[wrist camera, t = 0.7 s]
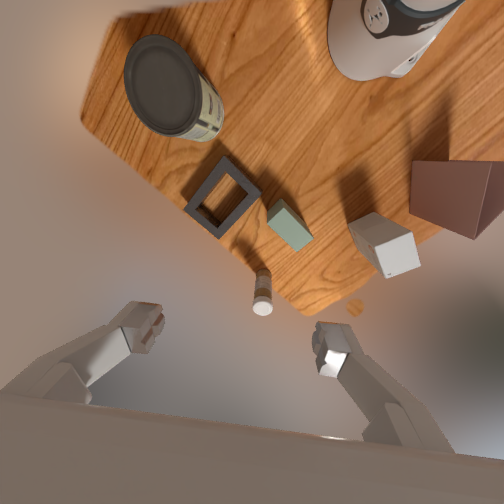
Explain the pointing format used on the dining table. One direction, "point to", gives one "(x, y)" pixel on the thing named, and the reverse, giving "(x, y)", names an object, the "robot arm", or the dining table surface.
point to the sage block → (288, 225)
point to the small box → (385, 244)
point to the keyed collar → (207, 187)
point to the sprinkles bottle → (263, 293)
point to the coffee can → (171, 91)
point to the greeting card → (458, 194)
